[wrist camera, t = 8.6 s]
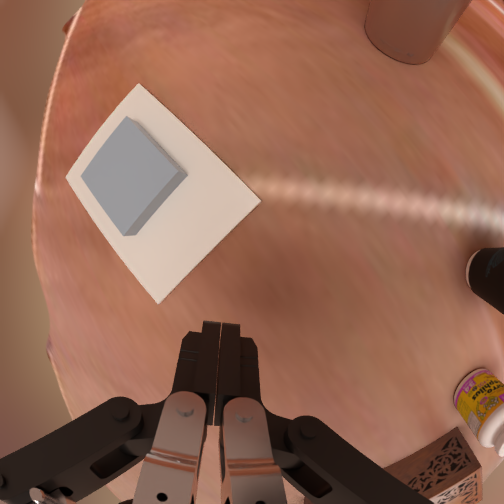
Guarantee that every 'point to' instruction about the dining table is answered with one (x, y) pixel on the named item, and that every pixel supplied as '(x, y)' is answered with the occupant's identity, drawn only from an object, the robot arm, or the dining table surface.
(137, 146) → the tile
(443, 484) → the tissue box cover
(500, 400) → the supplement bottle
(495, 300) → the dixie cup
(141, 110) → the board
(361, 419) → the dining table surface
